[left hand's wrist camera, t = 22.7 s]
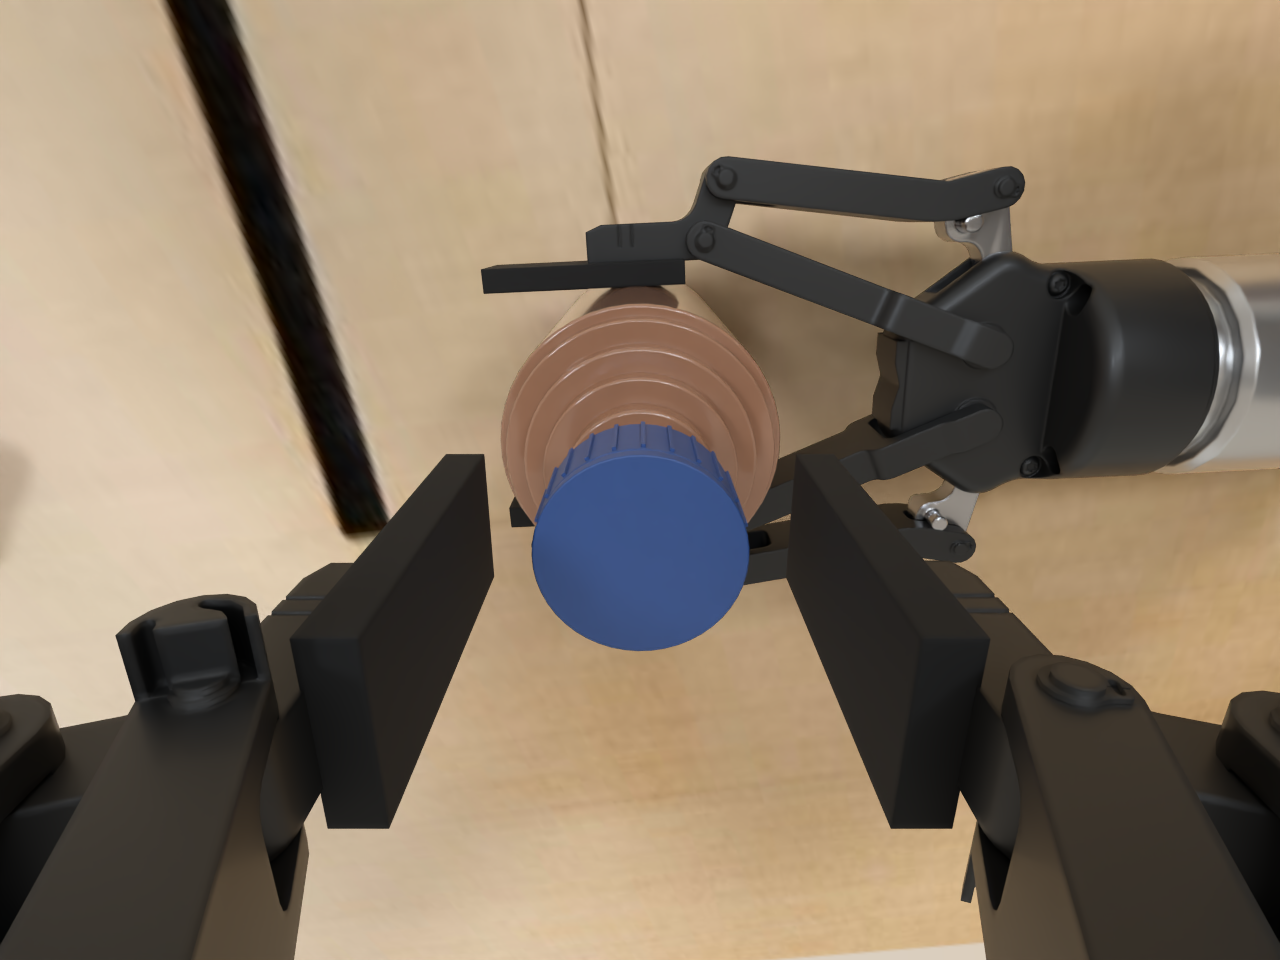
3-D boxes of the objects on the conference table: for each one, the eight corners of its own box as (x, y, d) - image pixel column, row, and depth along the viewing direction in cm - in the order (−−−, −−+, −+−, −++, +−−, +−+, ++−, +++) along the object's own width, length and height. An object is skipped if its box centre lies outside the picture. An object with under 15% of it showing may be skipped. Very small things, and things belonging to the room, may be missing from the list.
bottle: (537, 292, 30) (384, 392, 12) (707, 253, 30) (812, 296, 12) (579, 453, 33) (504, 733, 15) (736, 420, 32) (860, 669, 14)
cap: (624, 378, 13) (622, 405, 11) (777, 500, 14) (798, 543, 12) (505, 527, 14) (484, 573, 12) (654, 631, 15) (656, 689, 13)
